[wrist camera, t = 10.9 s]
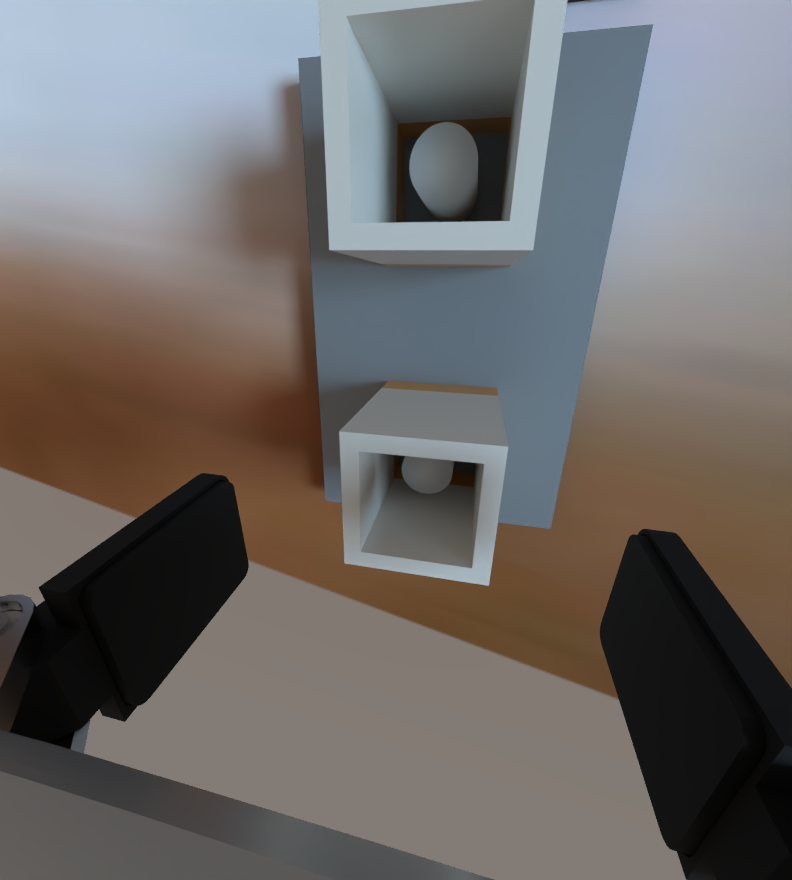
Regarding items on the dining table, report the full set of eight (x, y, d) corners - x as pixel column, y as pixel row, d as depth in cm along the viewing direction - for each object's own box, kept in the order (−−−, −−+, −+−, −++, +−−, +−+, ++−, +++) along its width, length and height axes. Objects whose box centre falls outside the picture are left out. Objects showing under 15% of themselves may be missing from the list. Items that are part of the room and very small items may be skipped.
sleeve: (388, 380, 18) (338, 431, 11) (496, 387, 17) (508, 446, 11) (387, 474, 20) (344, 563, 13) (485, 485, 19) (488, 585, 12)
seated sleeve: (389, 119, 14) (317, -21, 8) (528, 111, 13) (575, -55, 7) (388, 265, 16) (329, 250, 10) (509, 266, 15) (533, 250, 9)
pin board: (314, 79, 15) (235, -23, 10) (634, 51, 13) (730, -94, 8) (334, 487, 22) (293, 544, 17) (545, 512, 20) (567, 585, 15)
